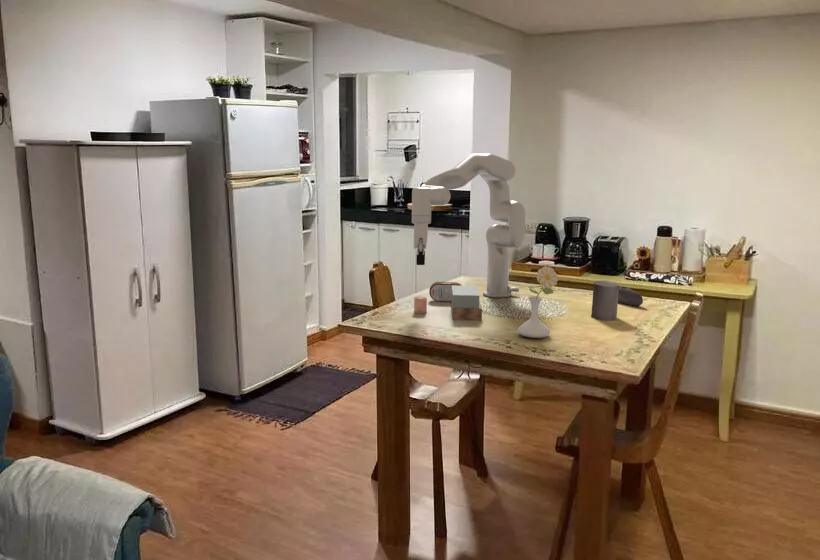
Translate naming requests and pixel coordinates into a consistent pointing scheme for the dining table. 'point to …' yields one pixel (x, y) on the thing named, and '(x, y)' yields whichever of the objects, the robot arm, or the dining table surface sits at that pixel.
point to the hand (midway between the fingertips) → (420, 262)
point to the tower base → (466, 313)
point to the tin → (442, 291)
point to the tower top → (465, 297)
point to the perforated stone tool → (629, 296)
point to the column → (420, 305)
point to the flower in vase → (534, 325)
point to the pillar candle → (605, 300)
